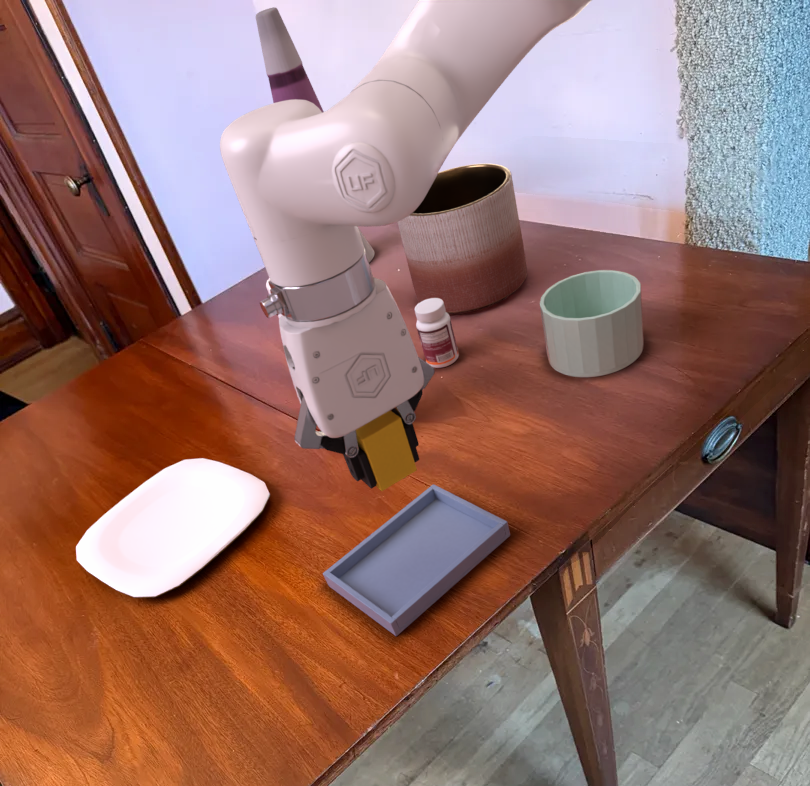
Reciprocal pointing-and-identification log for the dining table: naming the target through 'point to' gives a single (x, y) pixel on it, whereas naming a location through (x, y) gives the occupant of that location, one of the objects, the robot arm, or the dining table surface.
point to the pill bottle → (436, 333)
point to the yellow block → (386, 449)
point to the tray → (416, 557)
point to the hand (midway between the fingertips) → (387, 466)
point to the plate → (171, 527)
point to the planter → (466, 239)
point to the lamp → (287, 70)
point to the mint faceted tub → (593, 323)
